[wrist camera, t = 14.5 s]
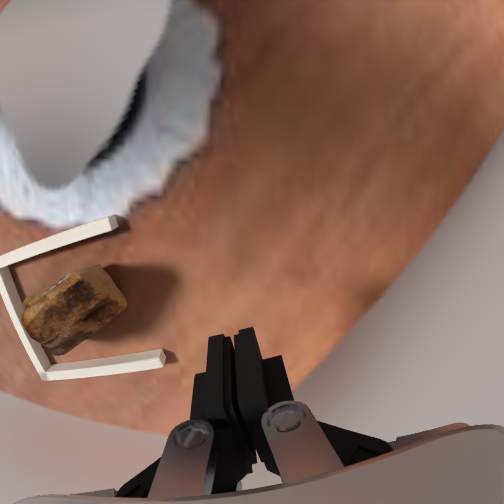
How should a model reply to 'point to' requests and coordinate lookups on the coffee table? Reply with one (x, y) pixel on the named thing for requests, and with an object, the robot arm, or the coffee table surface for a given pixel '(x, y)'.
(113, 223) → the frame
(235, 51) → the coffee table surface
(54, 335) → the decorative rock
